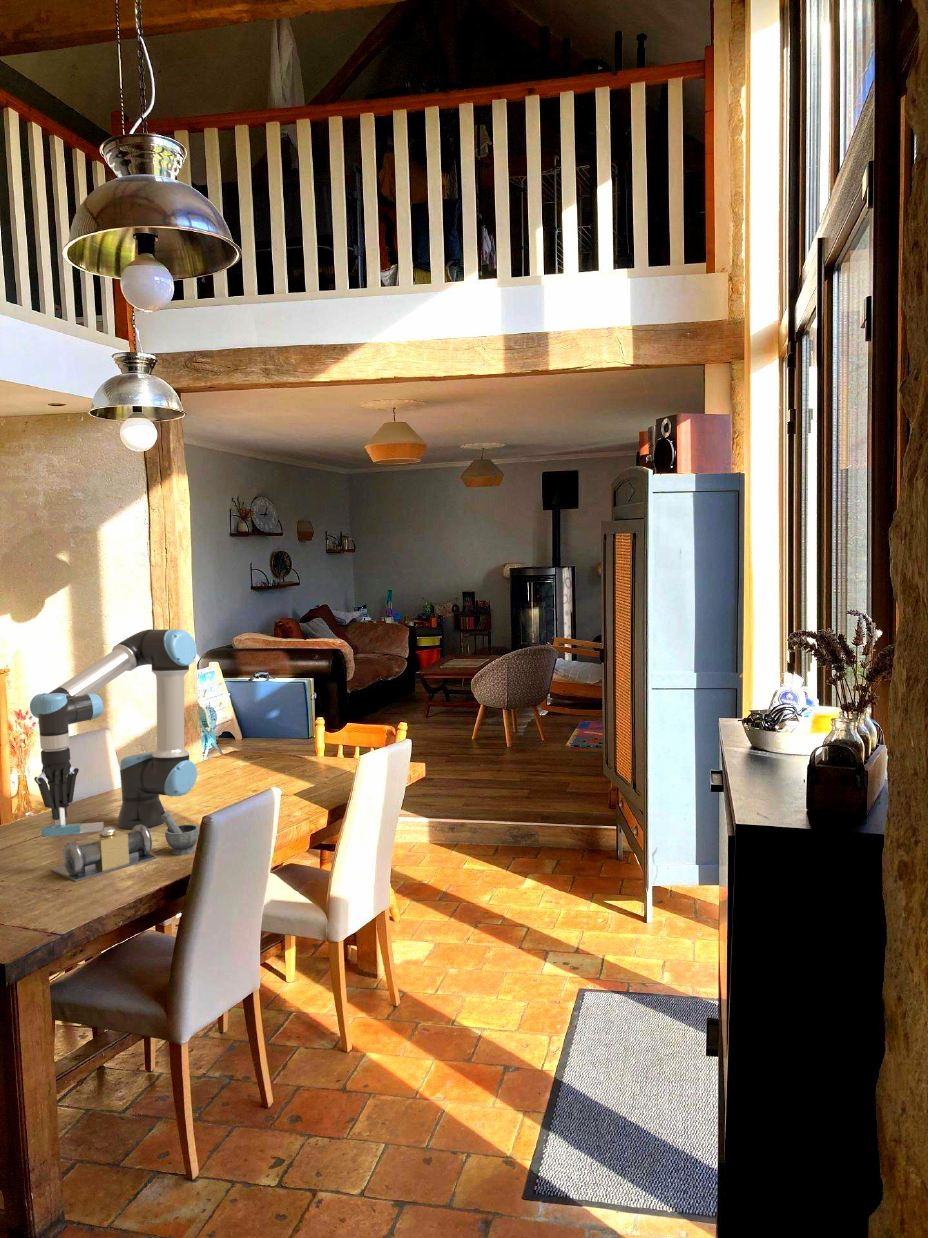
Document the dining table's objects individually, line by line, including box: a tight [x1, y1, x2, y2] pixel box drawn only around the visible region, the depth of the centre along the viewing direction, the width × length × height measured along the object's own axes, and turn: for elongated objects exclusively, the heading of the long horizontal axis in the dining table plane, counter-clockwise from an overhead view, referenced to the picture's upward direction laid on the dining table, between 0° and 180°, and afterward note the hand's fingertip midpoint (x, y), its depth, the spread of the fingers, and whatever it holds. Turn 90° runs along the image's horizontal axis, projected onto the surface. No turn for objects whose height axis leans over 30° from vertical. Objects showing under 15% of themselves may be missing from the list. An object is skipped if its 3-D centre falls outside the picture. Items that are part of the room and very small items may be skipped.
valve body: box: [50, 824, 157, 882], centre depth 266 cm, size 24×15×10 cm, turn 138°
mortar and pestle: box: [161, 811, 200, 856], centre depth 275 cm, size 11×9×12 cm
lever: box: [40, 821, 116, 838], centre depth 262 cm, size 4×20×4 cm, turn 102°
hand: (60, 829), depth 263 cm, fingers closed
